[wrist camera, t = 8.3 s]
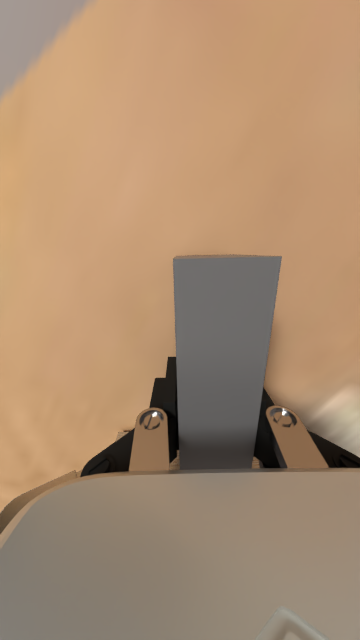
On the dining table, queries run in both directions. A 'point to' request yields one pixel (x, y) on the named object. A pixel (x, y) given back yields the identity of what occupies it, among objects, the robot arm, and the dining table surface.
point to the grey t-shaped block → (221, 356)
